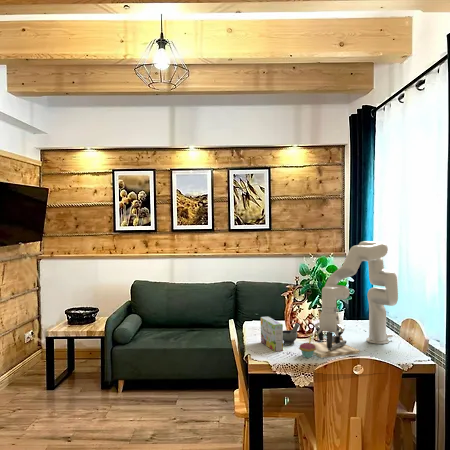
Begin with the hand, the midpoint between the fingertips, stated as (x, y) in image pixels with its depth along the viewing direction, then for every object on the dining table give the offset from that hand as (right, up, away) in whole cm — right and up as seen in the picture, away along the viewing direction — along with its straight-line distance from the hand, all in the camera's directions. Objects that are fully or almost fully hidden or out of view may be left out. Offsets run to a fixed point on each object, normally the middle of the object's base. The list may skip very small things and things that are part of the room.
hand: (329, 341), depth 282 cm
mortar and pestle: (-18, -6, +22) cm, 29 cm away
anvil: (+9, -4, +21) cm, 23 cm away
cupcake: (-12, -7, -4) cm, 15 cm away
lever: (+5, -4, +7) cm, 10 cm away
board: (+2, -6, +8) cm, 10 cm away
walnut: (+10, -5, +18) cm, 21 cm away
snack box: (-29, -7, +16) cm, 34 cm away
